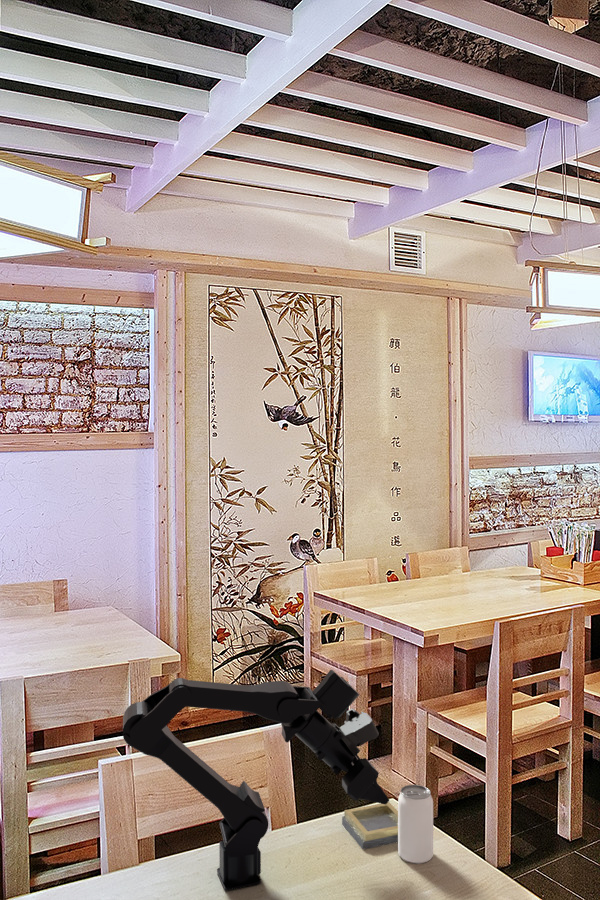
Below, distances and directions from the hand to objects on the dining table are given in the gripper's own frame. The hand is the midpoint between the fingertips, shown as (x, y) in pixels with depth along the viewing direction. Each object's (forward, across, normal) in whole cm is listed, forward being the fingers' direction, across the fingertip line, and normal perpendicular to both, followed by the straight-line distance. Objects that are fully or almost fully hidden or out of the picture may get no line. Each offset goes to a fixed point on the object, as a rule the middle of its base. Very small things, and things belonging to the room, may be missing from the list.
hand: (379, 790), depth 140 cm
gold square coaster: (+11, +10, +7) cm, 16 cm away
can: (+14, 0, +4) cm, 15 cm away
